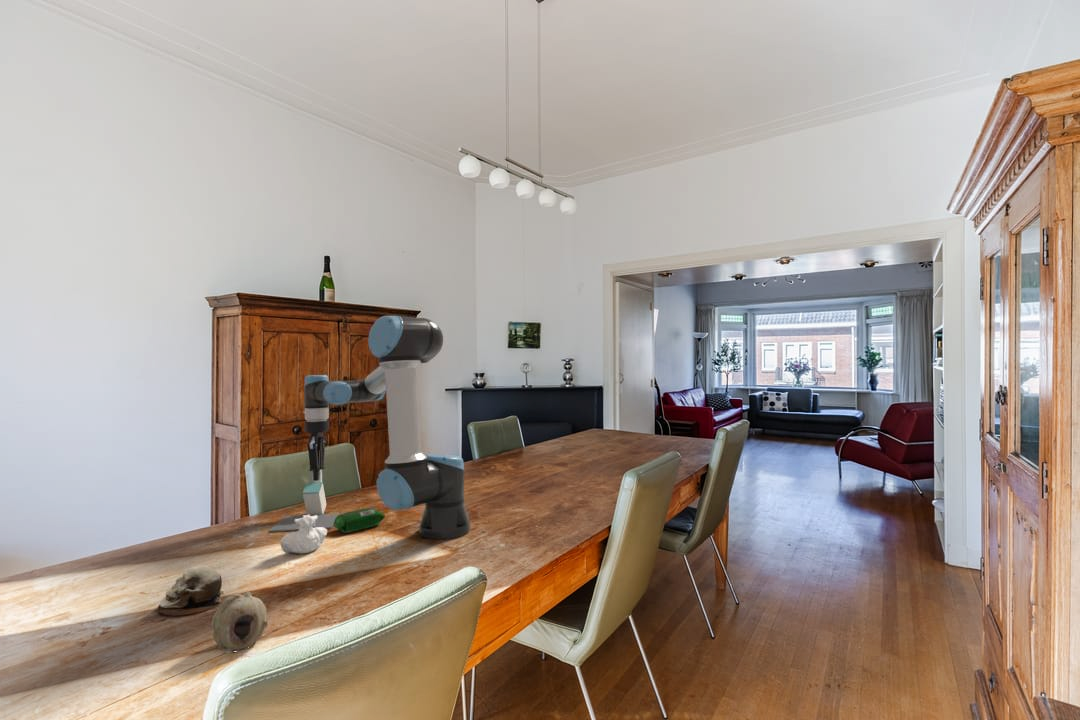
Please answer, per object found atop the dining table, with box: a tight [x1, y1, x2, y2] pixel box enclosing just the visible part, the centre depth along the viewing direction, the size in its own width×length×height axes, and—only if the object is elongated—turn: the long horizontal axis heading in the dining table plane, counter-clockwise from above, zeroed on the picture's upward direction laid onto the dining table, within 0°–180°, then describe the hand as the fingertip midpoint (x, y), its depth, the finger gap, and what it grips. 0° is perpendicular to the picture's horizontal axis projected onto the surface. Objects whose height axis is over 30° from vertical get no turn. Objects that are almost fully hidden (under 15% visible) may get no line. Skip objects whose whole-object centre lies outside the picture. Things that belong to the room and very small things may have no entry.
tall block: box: [302, 481, 327, 515], centre depth 166 cm, size 5×5×10 cm
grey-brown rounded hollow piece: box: [211, 591, 270, 654], centre depth 90 cm, size 9×8×10 cm
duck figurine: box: [279, 514, 328, 555], centre depth 134 cm, size 12×8×11 cm
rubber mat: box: [268, 512, 344, 533], centre depth 158 cm, size 14×18×1 cm
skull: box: [157, 564, 225, 617], centre depth 106 cm, size 12×10×10 cm
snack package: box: [333, 507, 386, 534], centre depth 153 cm, size 7×16×5 cm, turn 133°
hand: (317, 489), depth 168 cm, fingers closed
